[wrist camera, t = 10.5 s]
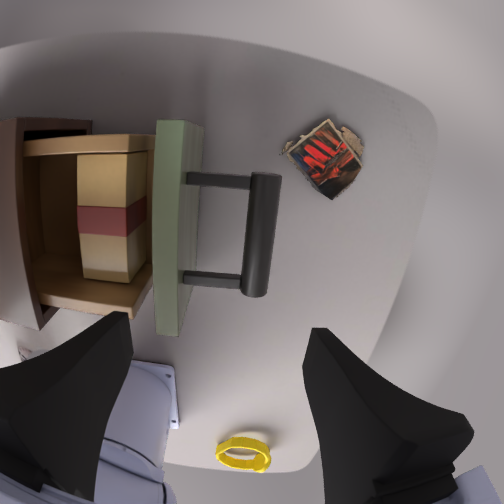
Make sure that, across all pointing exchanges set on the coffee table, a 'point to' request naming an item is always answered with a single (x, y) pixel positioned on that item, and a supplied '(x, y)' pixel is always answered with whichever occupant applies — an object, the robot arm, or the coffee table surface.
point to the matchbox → (327, 158)
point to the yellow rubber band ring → (257, 464)
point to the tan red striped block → (112, 214)
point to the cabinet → (23, 218)
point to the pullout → (157, 224)
